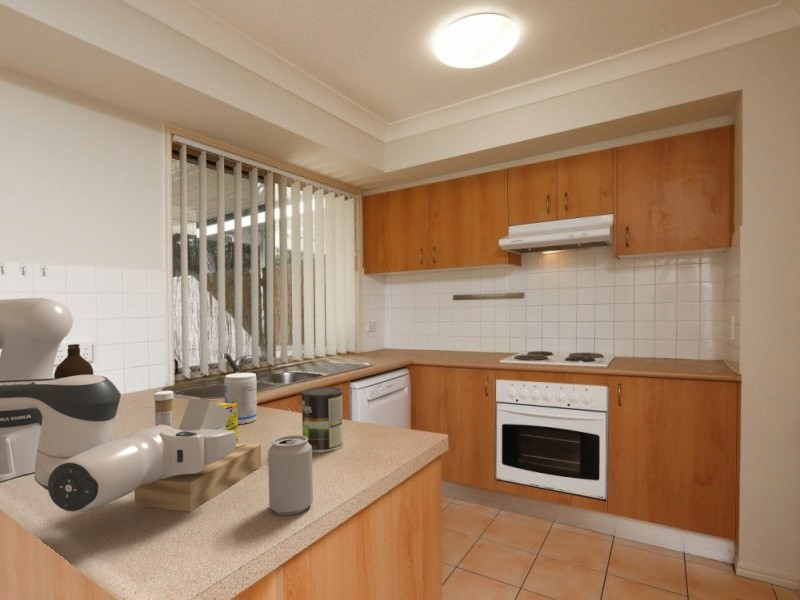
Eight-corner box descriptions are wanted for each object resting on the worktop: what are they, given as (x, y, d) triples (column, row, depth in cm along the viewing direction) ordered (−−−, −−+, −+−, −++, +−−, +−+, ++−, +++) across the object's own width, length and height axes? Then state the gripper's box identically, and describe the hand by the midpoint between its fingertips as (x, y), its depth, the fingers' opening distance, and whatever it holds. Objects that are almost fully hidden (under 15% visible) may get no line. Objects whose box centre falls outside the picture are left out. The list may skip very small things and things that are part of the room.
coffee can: (308, 455, 105) (307, 396, 105) (297, 444, 114) (296, 389, 114) (349, 448, 110) (348, 391, 110) (335, 438, 119) (334, 385, 119)
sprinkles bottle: (175, 438, 122) (174, 389, 122) (172, 443, 118) (171, 392, 118) (156, 440, 121) (155, 391, 121) (153, 445, 116) (152, 394, 116)
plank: (190, 511, 77) (190, 482, 77) (134, 505, 80) (134, 477, 80) (261, 466, 98) (260, 443, 98) (214, 463, 101) (214, 441, 101)
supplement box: (225, 452, 109) (224, 408, 109) (204, 451, 110) (203, 407, 110) (239, 445, 115) (238, 402, 115) (218, 444, 116) (217, 402, 116)
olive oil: (47, 424, 142) (46, 346, 142) (64, 416, 152) (63, 344, 152) (85, 421, 144) (84, 345, 144) (99, 414, 154) (98, 342, 155)
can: (295, 494, 83) (294, 430, 83) (321, 505, 78) (320, 437, 79) (260, 509, 77) (259, 440, 77) (286, 521, 73) (285, 448, 73)
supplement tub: (218, 423, 137) (217, 376, 137) (241, 416, 146) (241, 371, 146) (240, 426, 133) (239, 377, 133) (263, 419, 141) (262, 373, 141)
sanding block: (192, 452, 83) (210, 400, 88) (170, 450, 84) (189, 399, 89) (214, 460, 88) (230, 411, 93) (194, 458, 90) (210, 410, 95)
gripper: (110, 466, 80) (168, 442, 94) (206, 474, 75) (253, 448, 88) (109, 431, 80) (167, 413, 94) (205, 436, 75) (252, 416, 88)
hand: (209, 430), depth 91 cm, fingers closed on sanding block, 5 cm apart
